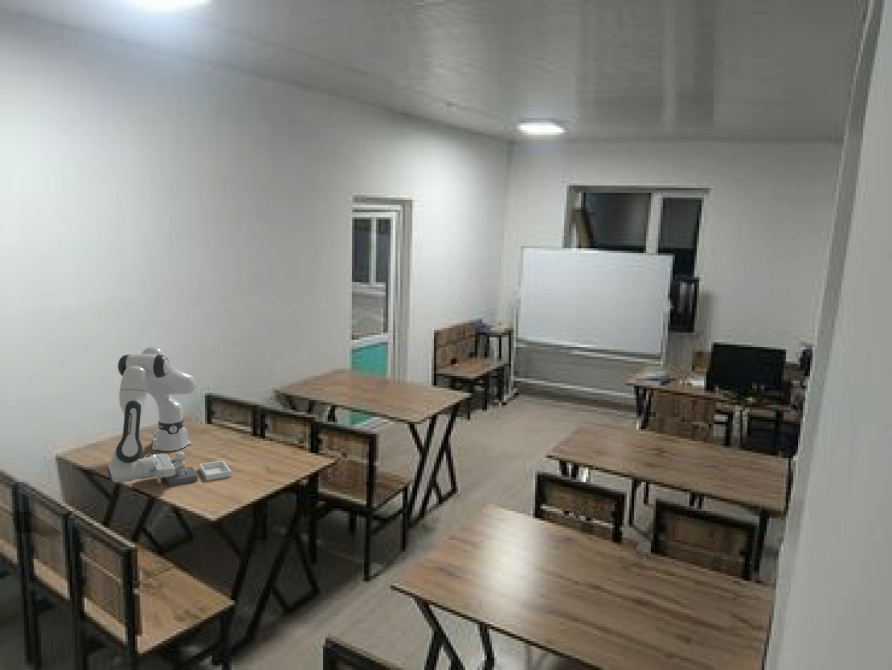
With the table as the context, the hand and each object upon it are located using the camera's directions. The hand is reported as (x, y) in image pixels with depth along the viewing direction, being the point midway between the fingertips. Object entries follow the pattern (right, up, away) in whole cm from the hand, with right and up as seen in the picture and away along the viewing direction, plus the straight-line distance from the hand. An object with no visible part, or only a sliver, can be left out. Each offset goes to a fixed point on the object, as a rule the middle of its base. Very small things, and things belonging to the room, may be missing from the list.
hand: (182, 462), depth 294 cm
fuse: (-1, -7, +1) cm, 8 cm away
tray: (+12, -7, +9) cm, 16 cm away
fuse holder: (-1, -8, +1) cm, 9 cm away
